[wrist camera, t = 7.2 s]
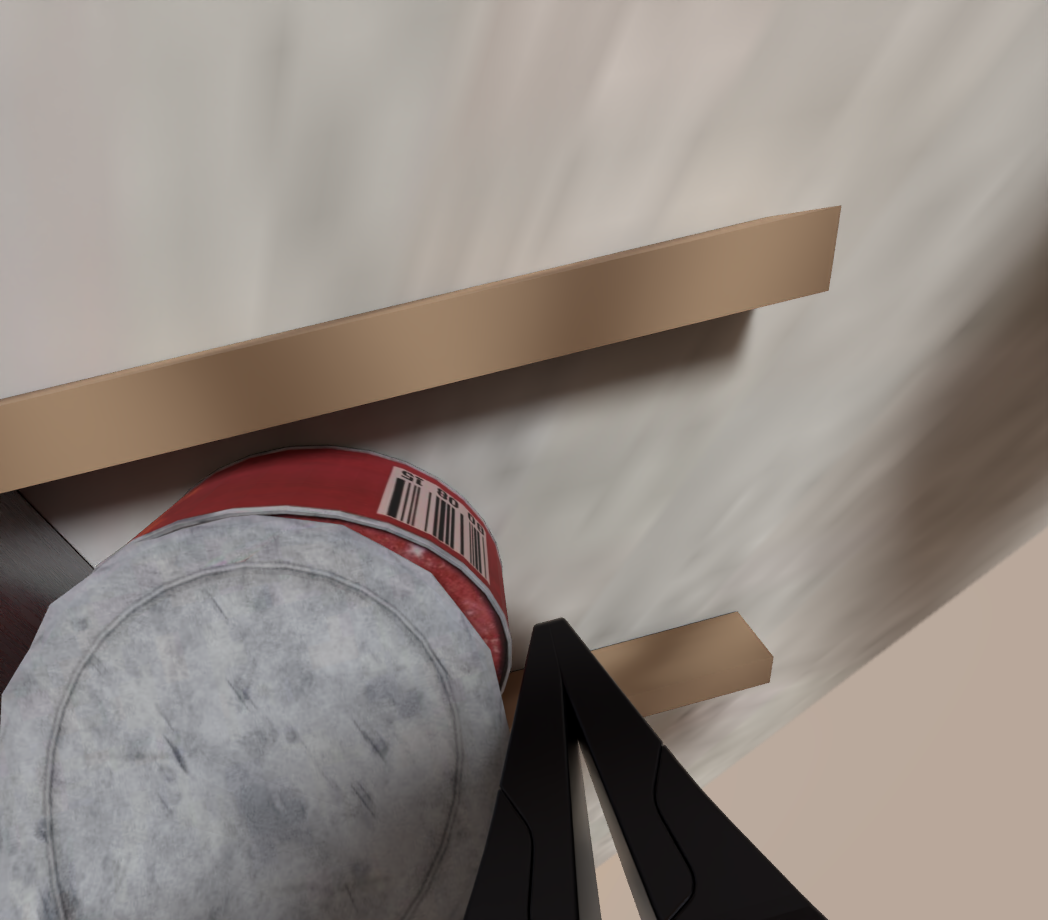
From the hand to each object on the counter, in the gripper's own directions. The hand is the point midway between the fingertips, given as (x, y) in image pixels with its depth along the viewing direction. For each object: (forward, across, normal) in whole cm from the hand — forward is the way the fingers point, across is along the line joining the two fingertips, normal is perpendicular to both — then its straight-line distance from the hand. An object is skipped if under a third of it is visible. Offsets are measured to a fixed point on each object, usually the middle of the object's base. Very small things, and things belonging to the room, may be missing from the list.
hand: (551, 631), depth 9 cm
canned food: (+4, +6, 0) cm, 7 cm away
